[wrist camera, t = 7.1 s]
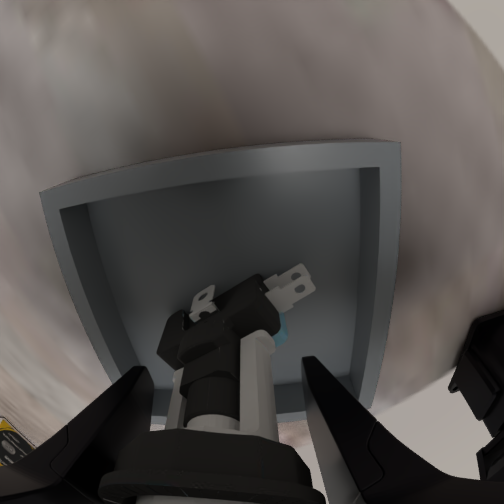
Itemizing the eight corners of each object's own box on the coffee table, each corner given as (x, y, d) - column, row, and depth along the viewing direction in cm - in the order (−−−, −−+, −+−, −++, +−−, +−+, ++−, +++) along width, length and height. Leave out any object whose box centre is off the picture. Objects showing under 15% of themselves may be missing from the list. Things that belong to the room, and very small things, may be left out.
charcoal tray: (371, 138, 11) (400, 142, 8) (359, 376, 15) (370, 408, 13) (72, 179, 11) (39, 192, 9) (146, 391, 16) (135, 422, 14)
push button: (270, 212, 11) (342, 508, 2) (333, 308, 13) (413, 525, 4) (141, 297, 13) (51, 513, 3) (214, 370, 14) (201, 563, 5)
